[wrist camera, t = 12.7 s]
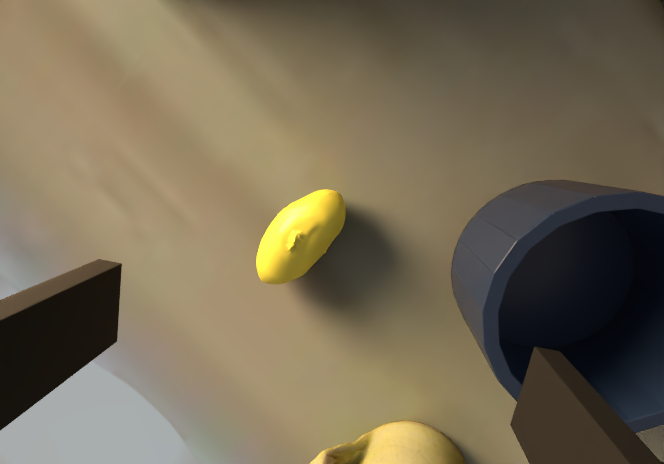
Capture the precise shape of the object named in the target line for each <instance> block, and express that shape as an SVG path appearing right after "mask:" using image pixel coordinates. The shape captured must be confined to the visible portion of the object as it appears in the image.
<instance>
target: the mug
mask: <svg viewBox="0 0 664 464" xmlns="http://www.w3.org/2000/svg"><path fill="white" fill-rule="evenodd" d="M310 464H466V462H465V460H464V458H463V456H462V455H461V453H460V451H459V450H458V448H457V447H456V446H455V445H454V443H453V442H452V441H451V440H450V439H449V438H447V437H446V436H445V435H444V434H443V433H441V432H439V431H438V430H436V429H434V428H433V427H430V426H427V425H424V424H421V423H417V422H412V421H402V422H395V423H389V424H385V425H383V426H381V427H378V428H376V429H374V430H372V431H371V432H369V433H366V434H364V435H362V436H361V437H360V438H359V439H358V440H357V441H355V442H353V443H346V444H341V445H338V446H336V447H333V448H332V447H330V448H328V449H326V450H324V451H322V452H321V453H320V454H319V455H318V456H317V457H316V458H315V459H314V460H313V461H312V462H311V463H310Z"/></svg>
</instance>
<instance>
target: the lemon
mask: <svg viewBox="0 0 664 464" xmlns="http://www.w3.org/2000/svg"><path fill="white" fill-rule="evenodd" d="M345 216H346V208H345V202H344V200H343V198H342V196H341V195H340V194H339V193H338V192H336V191H333V190H319V191H316V192H314V193H312V194H310V195H308V196H306V197H304V198H301V199H299V200H297V201H295V202H293V203H291V204H289V205H288V206H287V207H285V208H284V209H283V210H282V211H281V212H280V213H279V214H278V216H276V218H275V219H274V220H273V221H272V223H271V224H270V226H269V227H268V229H267V231H266V233H265V234H264V236H263V238H262V241H261V243H260V246H259V250H258V253H257V259H256V264H257V271H258V275H259V277H260V279H261V280H262V281H263V282H265V283H269V284H283V283H287V282H290V281H292V280H294V279H296V278H298V277H300V276H302V275H304V274H305V273H306V272H307V271H308V270H309V269H310V267H311V266H312V265H313V264H314V263H315V262H316V261H317V260H318V259H319V258H320V257H321V256H322V255H323V254H324V253H325V254H326V251H327V249H328V247H329V245H330V244H331V243H332V241H333V240H334V239H335V237H336V236H337V235H338V234H339V233H340V231H341V230H342V228H343V225H344V222H345Z"/></svg>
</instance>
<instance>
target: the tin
mask: <svg viewBox="0 0 664 464" xmlns="http://www.w3.org/2000/svg"><path fill="white" fill-rule="evenodd" d="M451 277H452V287H453V294H454V297H455V299H456V302H457V304H458V307H459V309H460V311H461V313H462V316H463V318H464V320H465V322H466V324H467V325H468V327H469V329H470V331H471V333H472V334H473V336H474V338H475V340H476V342H477V344H478V345H479V347H480V349H481V351H482V353H483V355H484V356H485V358H486V360H487V362H488V364H489V366H490V367H491V369H492V371H493V373H494V375H495V376H496V378H497V380H498V381H499V382H500V383H501V385H502V386H503V387H504V388H505V389H506V390H507V391H508V392H509V393H510V395H511V396H512V397H513V398H514V399H515V400H516V401H518V398H519V395H520V392H521V389H522V385H523V382H524V379H525V376H526V372H527V369H528V366H529V363H530V359H531V356H532V353H533V350H534V346H535V347H540V348H545V349H550V350H555V351H560V352H561V353H562V354H563V355H564V356H565V357H566V359H567V360H568V361H569V362H570V363H571V364H572V365H573V366H574V367H575V368H576V370H577V371H578V372H579V373H580V374H581V375H582V376H583V377H584V378H585V379H586V380H587V382H588V383H589V384H590V385H591V386H592V387H593V388H594V389H595V390H596V391H597V393H598V394H599V395H600V396H601V397H602V398H603V399H604V400H605V401H606V402H607V403H608V405H609V406H610V407H611V408H612V409H613V410H614V411H615V412H616V413H617V414H618V415H619V417H620V418H621V419H622V420H623V421H624V422H625V423H626V424H627V425H628V426H629V428H630V429H631V430H632V431H633V432H634V433H637V432H640V431H643V430H647V429H650V428H654V427H657V426H660V425H664V196H660V195H655V194H651V193H646V192H641V191H634V190H628V189H621V188H615V187H608V186H601V185H595V184H588V183H582V182H575V181H569V180H545V181H536V182H532V183H527V184H523V185H520V186H518V187H515V188H512V189H510V190H508V191H506V192H504V193H502V194H500V195H498V196H497V197H495V198H494V199H492V200H491V201H490V202H488V203H487V204H486V205H485V206H484V207H482V208H481V209H480V210H479V211H478V212H477V213H476V214H475V215H474V217H473V218H472V219H471V220H470V221H469V223H468V224H467V226H466V227H465V229H464V230H463V232H462V234H461V236H460V238H459V240H458V243H457V246H456V248H455V251H454V256H453V261H452V271H451Z"/></svg>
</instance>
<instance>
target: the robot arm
mask: <svg viewBox="0 0 664 464" xmlns="http://www.w3.org/2000/svg"><path fill="white" fill-rule="evenodd" d="M121 266H122V264H121V263H116V262H111V261H106V260H101V259H98V260H96V261H93V262H91V263H89V264H86V265H84V266H81V267H79V268H76V269H74V270H72V271H69V272H67V273H64V274H62V275H60V276H57V277H55V278H52V279H50V280H48V281H45V282H43V283H40V284H38V285H35V286H33V287H31V288H28V289H26V290H23V291H21V292H19V293H16V294H14V295H11V296H9V297H6V298H5V299H2V300H0V430H2V429H3V428H4V427H5V426H7V425H8V424H9V423H11V422H12V421H13V420H14V419H16V418H17V417H18V416H20V415H21V414H22V413H23V412H25V411H26V410H28V409H29V408H30V407H32V406H33V405H34V404H35V403H37V402H38V401H39V400H41V399H42V398H43V397H45V396H46V395H47V394H49V393H50V392H51V391H53V390H54V389H55V388H56V387H58V386H59V385H60V384H62V383H63V382H64V381H66V380H67V379H68V378H69V377H70V376H72V375H73V374H75V373H76V372H77V371H79V370H80V369H81V368H82V367H84V366H85V365H87V364H88V363H89V362H90V361H92V360H93V359H94V358H96V357H97V356H98V355H100V354H101V353H102V352H104V351H105V350H106V349H107V348H109V347H110V346H111V345H113V344H114V343H115V342H117V332H118V315H119V299H120V282H121ZM510 425H511V427H512V429H513V431H514V433H515V435H516V437H517V439H518V441H519V443H520V445H521V447H522V449H523V451H524V453H525V455H526V457H527V459H528V461H529V463H530V464H664V462H661V461H660V460H659V459H658V458H657V457H656V456H655V455H654V454H653V453H652V452H651V451H650V449H649V448H648V447H647V446H646V445H645V444H644V443H643V442H642V441H641V440H640V438H639V437H638V436H637V435H636V434H635V433H634V432H633V431H632V430H631V429H630V428H629V426H628V425H627V424H626V423H625V422H624V421H623V420H622V419H621V418H620V417H619V415H618V414H617V413H616V412H615V411H614V410H613V409H612V408H611V407H610V406H609V405H608V403H607V402H606V401H605V400H604V399H603V398H602V397H601V396H600V395H599V394H598V393H597V391H596V390H595V389H594V388H593V387H592V386H591V385H590V384H589V383H588V382H587V380H586V379H585V378H584V377H583V376H582V375H581V374H580V373H579V372H578V371H577V370H576V368H575V367H574V366H573V365H572V364H571V363H570V362H569V361H568V360H567V359H566V357H565V356H564V355H563V354H562V353H561V352H560V351H555V350H550V349H545V348H540V347H535V346H534V350H533V353H532V356H531V359H530V363H529V366H528V369H527V372H526V376H525V379H524V382H523V385H522V389H521V392H520V395H519V398H518V401H517V405H516V408H515V411H514V414H513V418H512V421H511V424H510Z"/></svg>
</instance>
